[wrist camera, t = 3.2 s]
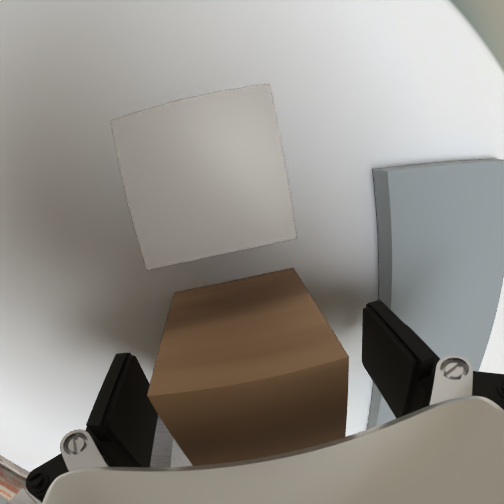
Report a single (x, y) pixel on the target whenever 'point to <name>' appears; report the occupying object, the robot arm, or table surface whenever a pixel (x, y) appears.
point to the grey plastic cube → (205, 176)
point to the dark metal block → (166, 449)
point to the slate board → (441, 255)
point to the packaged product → (11, 478)
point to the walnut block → (249, 371)
